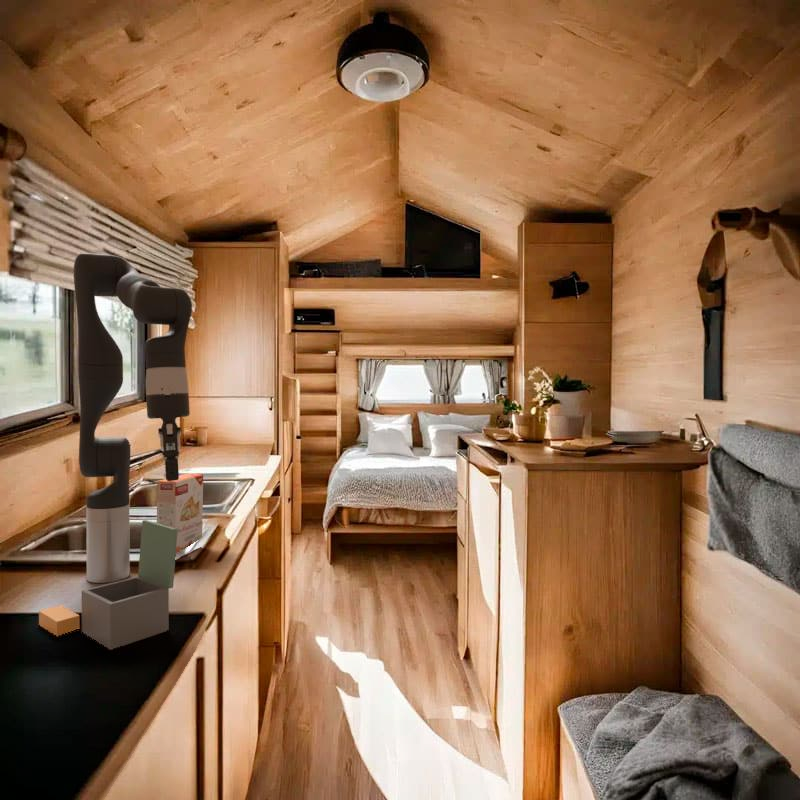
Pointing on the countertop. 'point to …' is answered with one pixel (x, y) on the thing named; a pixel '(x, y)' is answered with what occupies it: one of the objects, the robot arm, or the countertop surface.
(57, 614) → the orange rectangular block
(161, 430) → the robot arm
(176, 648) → the countertop surface
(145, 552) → the lid
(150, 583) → the storage box
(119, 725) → the countertop surface
